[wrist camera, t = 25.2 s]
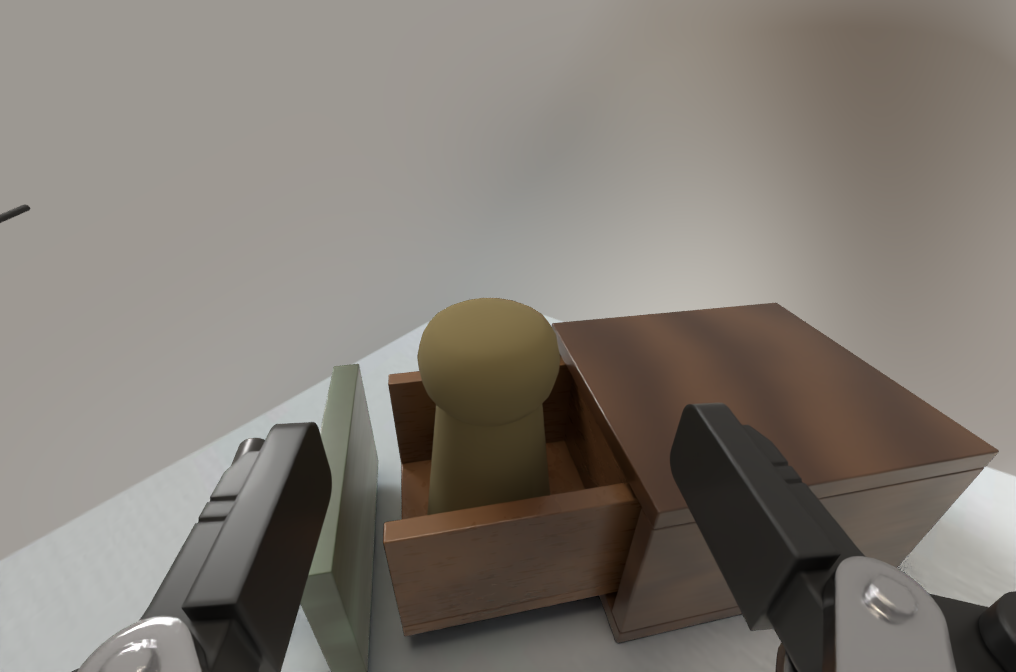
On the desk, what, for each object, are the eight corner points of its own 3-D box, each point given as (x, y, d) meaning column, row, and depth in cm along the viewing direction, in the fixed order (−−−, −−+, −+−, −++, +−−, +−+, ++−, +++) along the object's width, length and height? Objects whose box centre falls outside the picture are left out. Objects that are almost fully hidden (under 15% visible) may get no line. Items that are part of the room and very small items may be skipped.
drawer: (207, 708, 16) (119, 610, 12) (276, 474, 24) (237, 375, 21) (645, 610, 19) (682, 508, 15) (567, 433, 28) (578, 341, 24)
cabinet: (616, 644, 19) (658, 513, 14) (541, 440, 28) (551, 322, 24) (886, 580, 21) (1001, 450, 16) (732, 413, 31) (776, 302, 26)
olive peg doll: (410, 489, 22) (381, 296, 16) (515, 450, 25) (523, 268, 19) (454, 601, 18) (435, 390, 12) (577, 539, 20) (613, 338, 14)
